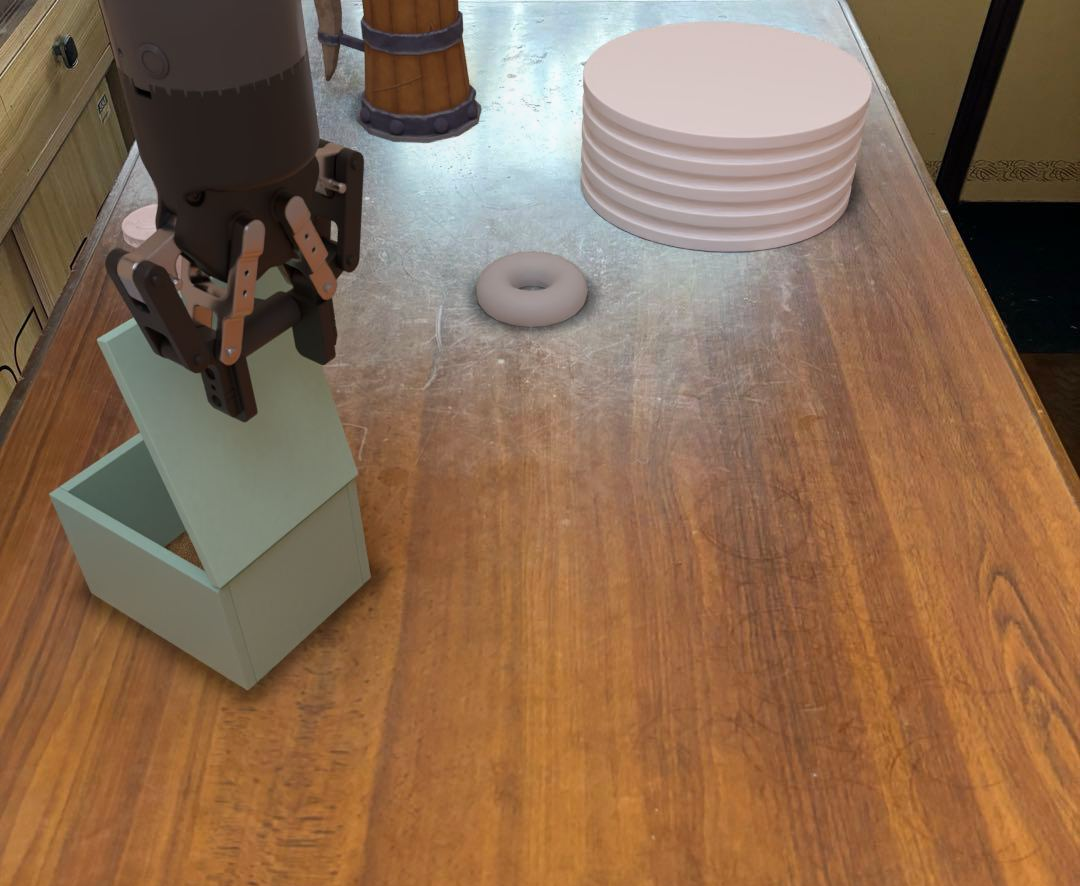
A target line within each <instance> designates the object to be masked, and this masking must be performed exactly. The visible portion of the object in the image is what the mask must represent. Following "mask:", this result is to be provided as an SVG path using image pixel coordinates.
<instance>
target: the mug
mask: <svg viewBox="0 0 1080 886" xmlns="http://www.w3.org/2000/svg"><path fill="white" fill-rule="evenodd" d="M313 4H314V6H315V8H314V9H315V12H316V17H317V22H318V28H317V42H319V43H320V44H321V50H322V58H323V59H322V60H323V67H324V78H325V79H324V80H325V82H330V81H331V79H332V77H333V75H334V74H335V71H336V70H337V67H338V61H339V56H340V49H341V46H343V47H347V48H350V49H353V50H356V51H358V52H362V53H364V90H363V91H362V93H361V97H360V103H361V106H360V109H359V110H358V113H357V116H356V119H357V122H358V123H359V125H361V127H362V128H363V129H364V130H365V131H366V133H367V134H369V135H372V136H375V137H379V138H381V139H385V140H388V141H391V142H395V143H432V142H436V141H440V140H446V139H449V138H454V137H458V136H461V135H462V134H464V133H465V132H467V131H469V130H470V129H472V128H474V127H476V126H477V125H478V124H479V121H480V117H481V113H482V105H481V104H480V103H479V102H478V101H477V100H476V97H477V90H476V89H475V88H474V87H473V86H472V85H471V83H470V76H469V70H468V63H467V56H466V50H465V44H464V43H465V42H464V37H463V34H464V15H463V14H464V13H463V12H462V11H460V10H459V9H460V8H459V0H361V4H362V13H363V15H362V17H361V20H360V29H361V38H358V37H356V36H353V35H349V34H347V33H344V30H343V10H342V9H343V7H342V1H341V0H313Z"/></svg>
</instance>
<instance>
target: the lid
mask: <svg viewBox="0 0 1080 886" xmlns="http://www.w3.org/2000/svg"><path fill="white" fill-rule="evenodd" d="M210 279H211V281H212V282H213V283H214V284H215V285H217V286H220V287H222V288H224V289H226V290H227V285H228V284H227V283H224V282H222V281H220V280H217V279H215V278H213V277H211V276H210ZM292 288H293V286H292V285H289V284H288V283H287V282H286V281H285V279H284V278H283V276H282V274H281V273H280V271H279V269H278V268H277V266H276V267H272V268H270V269H268V270H267V271H266V272H265V273H264V274H263V275H262V276H261V277H260V279H259V280H257V281H256V287H255V297H254V307H253V311H252V313H251V314H250V315H247V316H245V318H244V325H243V336H242V347H241V354H242V355H244V356H246V359H247V364H248V369H249V373H250V378H251V382H252V387H253V392H254V396H255V401H256V406H257V410H258V413H257V415H255V416H254V417H253V418H251V419H250V420H249V421H247V422H242V421H240V420H238V419H236V418H233V417H231V416H229V415H227V414H225V413H223V412H221V411H219V410H217V409H215V408H213V407H212V406H211V405H210V403H209V402H208V400H207V396H206V391H205V388H204V386H205V385H204V384H203V380H202V376H201V373H193V372H191V371H189V370H187V369H186V368H184V367H183V366H181V365H179V364H177V363H175V362H173V361H171V360H169V359H167V358H163V357H161V356H159V355H157V354H155V353H154V352H153V350H152V348H151V347H150V345H149V343H148V341H147V340H146V338H145V336H144V335H143V333H142V331H141V329H140V328H139V326H138V324H137V322H136V321H135V319H134V317H133V316H132V318H130V319H128V320H127V321H125V322H123V323H122V324H120V325H118V326H117V327H115V328H113V329H111V330H110V331H107V332H106V333H104V334H103V335H101V336H99V337H98V338H97V339H96V342H97V344H98V346H99V348H100V350H101V353H102V355H103V357H104V359H105V361H106V363H107V366H108V368H109V370H110V372H111V374H112V376H113V378H114V381H115V382H116V385H117V387H118V388H119V391H120V393H121V396H122V397H123V399H124V401H125V402H124V403H125V404H126V406H127V408H128V410H129V412H130V414H131V416H132V419H133V421H134V423H135V425H136V427H137V429H138V432H139V433H141V436H142V438H143V440H144V442H145V444H146V446H147V448H148V450H149V452H150V455H151V457H152V459H153V461H154V463H155V465H156V467H157V469H158V472H159V474H160V476H161V478H162V480H163V482H164V484H165V486H166V489H167V491H168V493H169V495H170V497H171V499H172V501H173V503H174V506H175V508H176V510H177V512H178V514H179V516H180V518H181V520H182V523H183V525H184V527H185V529H186V531H185V532H186V533H187V535H188V537H189V539H190V542H191V544H192V546H193V548H194V550H195V552H196V554H197V557H198V558H199V561H200V563H201V565H202V567H203V570H204V571H205V572H206V574H207V576H208V578H209V580H210V582H211V584H212V585H214V586H216V587H219V588H221V587H223V586H224V585H225V584H226V583H227V582H229V581H230V580H231V579H232V578H233V577H235V576H236V575H237V574H238V573H240V572H241V571H242V570H243V569H244V568H246V567H247V566H248V565H249V564H250V563H252V562H253V561H254V560H255V559H256V558H258V557H259V556H260V555H261V554H262V553H264V552H265V551H266V550H267V549H269V548H270V547H271V546H272V545H273V544H275V543H276V542H277V541H278V540H279V539H281V538H282V537H283V536H284V535H285V534H287V533H288V532H289V531H290V530H291V529H293V528H294V527H295V526H296V525H297V524H299V523H300V522H301V521H302V520H304V519H305V518H306V517H307V516H308V515H310V514H311V513H312V512H313V511H314V510H316V509H317V508H318V507H319V506H320V505H322V504H323V503H324V502H325V501H326V500H328V499H329V498H330V497H331V496H333V495H334V494H335V493H336V492H337V491H339V490H340V489H341V488H342V487H343V486H345V485H346V484H347V483H348V482H349V481H351V480H352V479H353V478H356V477H357V476H358V475H359V470H358V468H357V465H356V462H355V459H354V456H353V452H352V450H351V447H350V444H349V441H348V438H347V434H346V432H345V429H344V426H343V424H342V420H341V417H340V414H339V411H338V409H337V406H336V402H335V400H334V398H333V394H332V390H331V387H330V385H329V382H328V379H327V375H326V373H325V369H324V367H323V365H321V364H318V363H316V362H314V361H312V360H310V359H307V358H305V357H303V356H302V355H300V354H299V352H298V351H297V349H296V347H295V342H294V336H293V331H292V326H294V325H295V324H297V323H298V322H299V321H300V319H301V312H300V309H299V306H298V304H297V303H296V301H295V300H294V299H293V298H292V297H291V296H290V295H289V294H288V293H286V292H288V291H289V290H291V289H292ZM177 292H178V293H179V295H180V297H181V299H182V301H183V303H184V305H185V307H186V308H187V304H186V301H185V299H184V298H183V297H182V295H181V292H180V291H177ZM216 327H217V316H216V314H215V313H214V312H213V321H212V329H214V330H216Z"/></svg>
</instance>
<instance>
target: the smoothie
mask: <svg viewBox="0 0 1080 886" xmlns="http://www.w3.org/2000/svg"><path fill="white" fill-rule="evenodd" d="M152 183H153V182H152ZM152 185H153V187H154V191H155V195H156V199H157V200H158V194H157V190H156V187H155V185H154V183H153V184H152ZM157 205H158V203H153V204H152V203H151V204H148V205H145V206H142V207H139V208H138V209H135V210H133V211H132V212H130V213H129V214H127V216H125V218H124V219H123V221H122V223H121V231H122V236H123V240H124V241H125V243H127V245H129V246H131V248H132V252H133V251H134V250H135V249H136V248H138V247H139V246H140V245H141V244H142V243H143V242H144V241H146V240H147V239H148V238H149V237H150V236H151V235H152V234H154V233H155V232H156V231H157V230H156V224H155V218H156V212H157ZM181 264H182V256H181V255H179V256H178V258H177V262H176V270H177V273H178V279H181Z"/></svg>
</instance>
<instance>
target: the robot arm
mask: <svg viewBox="0 0 1080 886" xmlns="http://www.w3.org/2000/svg"><path fill="white" fill-rule="evenodd" d="M99 3H100V7H101V11H102V14H103V19H104V22H105V26H106V30H107V34H108V37H109V41H110V45H111V49H112V52H113V56H114V60H115V66H116V69H117V73H118V77H119V81H120V84H121V89H122V92H123V97H124V100H125V102H126V107H127V112H128V115H129V119H130V122H131V127H132V131H133V134H134V139H135V143H136V146H137V150H138V153H139V158H140V160H141V162H142V164H143V166H144V168H145V170H146V172H147V173H148V175H149V177H150V179H151V181H152V183H154V184H153V186H154V185H155V187H156V190H157V194H158V199H157V204H158V205H157V212H156V218H155V224H156V230H157V231H156V232H155V233H154V234H152V235H151V236H150V237H149V238H148V239H147V240H146V241H144V242H143V243H142V244H141V245H140V246H139V247H138V248H136V249H135V250H134V251H133V250H132V251H131V252H130V251H128V250H125V249H123V248H120V247H117V248H113V249H112V250H111V251H109V252H108V254H107V255H106V258H105V261H104V267H105V271H106V273H107V274H108V276H109V278H110V279H111V281H112V283H113V285H114V286H115V288H116V290H117V292H118V293H119V295H120V297H121V299H122V300H123V302H124V304H125V305H126V307H127V309H128V310H129V312H130V314H131V316H132V318H133V317H134V319H135V321H136V322H137V324H138V326H139V328H140V329H141V331H142V333H143V335H144V336H145V338H146V340H147V341H148V343H149V345H150V347H151V348H152V350H153V352H154V353H155V354H157V355H159V356H161V357H163V358H167V359H169V360H171V361H173V362H175V363H177V364H179V365H181V366H183V367H184V368H186V369H187V370H189V371H191V372H193V373H201V376H202V380H203V384H204V385H205V386H204V388H205V391H206V396H207V400H208V402H209V403H210V405H211V406H212V407H213V408H215V409H217V410H219V411H221V412H223V413H225V414H227V415H229V416H231V417H233V418H236V419H238V420H240V421H242V422H247V421H249V420H250V419H251V418H253V417H254V416H255V415H257V413H258V410H257V406H256V401H255V396H254V392H253V387H252V382H251V378H250V373H249V369H248V364H247V359H246V356H244V355H242V354H241V347H242V336H243V325H244V318H245V316H247V315H250V314H251V313H252V311H253V307H254V297H255V287H256V281H257V280H259V279H260V277H261V276H262V275H263V274H264V273H265V272H266V271H267V270H268V269H270V268H272V267H276V266H277V268H278V269H279V271H280V273H281V274H282V276H283V278H284V279H285V281H286V282H287V283H288V284H289V285H292V286H293V288H292V289H291V290H289V291H288V292H286V293H288V294H289V295H290V296H291V297H292V298H293V299H294V300H295V301H296V303H297V304H298V306H299V309H300V312H301V319H300V321H299V322H298V323H297V324H295V325H294V326H292V331H293V336H294V342H295V347H296V349H297V351H298V352H299V354H300V355H302V356H303V357H305V358H307V359H310V360H312V361H314V362H316V363H318V364H321V365H322V366H326V365H327V364H329V363H330V362H331V361H333V360H334V359H335V358H336V356H337V354H336V346H337V341H338V329H337V322H336V315H335V309H334V308H335V307H334V301H333V297H334V296H335V294H336V292H337V289H338V279H339V277H340V276H341V275H342V274H343V273H344V272H346V273H353V272H354V271H355V270H357V268H358V267H359V262H360V259H361V257H360V256H361V237H362V235H361V234H362V216H363V215H362V214H363V194H364V174H365V157H364V155H363V154H362V153H361V152H360V151H358V150H354V149H352V148H349V147H347V146H343V145H340V144H337V143H336V142H335V143H334V142H333V141H329V140H326V139H323V138H320V130H319V129H320V128H319V121H318V114H317V107H316V100H315V92H314V85H313V78H312V77H313V76H312V71H311V63H310V54H309V48H308V42H307V34H306V26H305V18H304V11H303V2H302V0H99ZM155 187H154V188H155ZM332 222H333V223H335V225H336V227H337V237H336V240H334V239H331V238H332ZM179 255H181V256H182V264H181V279H178V273H177V270H176V262H177V258H178V256H179ZM210 276H211V277H213V278H215V279H217V280H220V281H222V282H224V283H227V284H228V285H227V290H226V289H224V288H222V287H220V286H217V285H215V284H214V283H213V282H212V281H211V279H210ZM177 291H180V292H181V295H182V297H183V298H184V299H185V301H186V304H187V308H186V307H185V305H184V303H183V301H182V299H181V297H180V295H179V293H178V292H177ZM213 312H214V313H215V314H216V316H217V327H216V330H214V329H212V321H213Z"/></svg>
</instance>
